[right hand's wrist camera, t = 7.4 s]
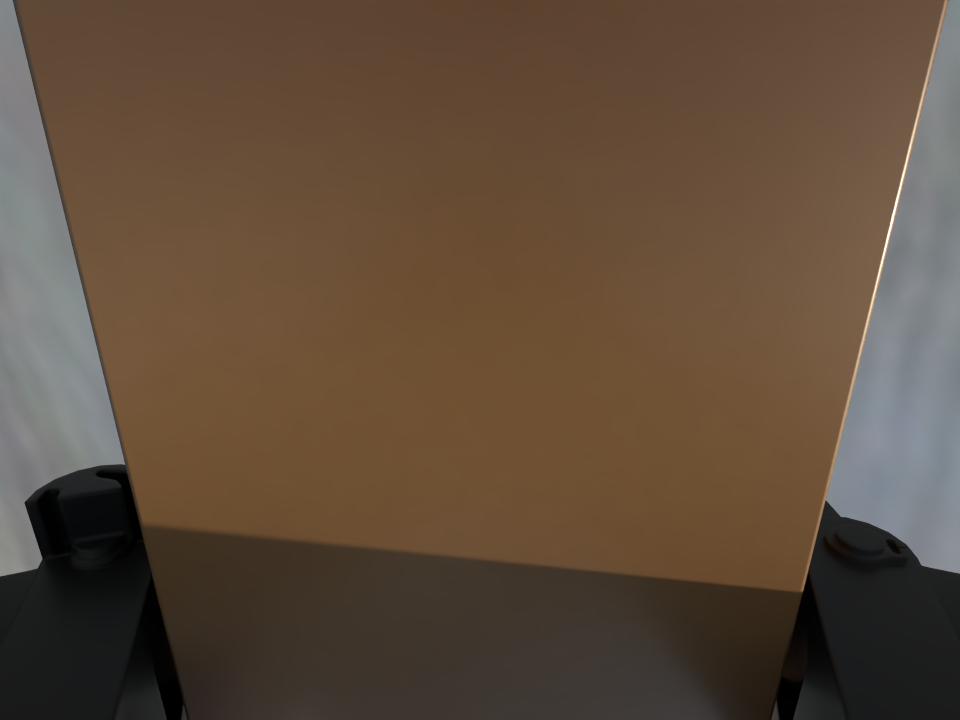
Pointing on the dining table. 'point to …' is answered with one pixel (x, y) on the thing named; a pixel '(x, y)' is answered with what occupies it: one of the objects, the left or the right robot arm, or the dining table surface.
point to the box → (480, 332)
